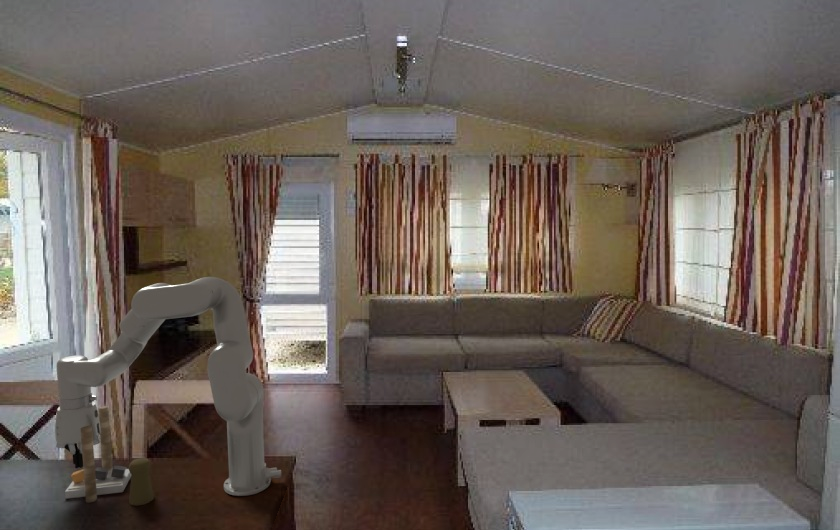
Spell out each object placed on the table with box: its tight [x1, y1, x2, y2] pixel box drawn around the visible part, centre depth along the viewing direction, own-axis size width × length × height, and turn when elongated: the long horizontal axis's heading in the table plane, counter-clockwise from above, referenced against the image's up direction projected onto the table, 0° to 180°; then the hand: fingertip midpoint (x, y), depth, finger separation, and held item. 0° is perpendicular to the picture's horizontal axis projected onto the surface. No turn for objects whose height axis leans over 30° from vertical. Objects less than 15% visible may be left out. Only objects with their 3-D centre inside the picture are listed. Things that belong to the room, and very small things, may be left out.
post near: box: [81, 426, 98, 504], centre depth 150 cm, size 3×3×20 cm
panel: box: [64, 468, 132, 499], centre depth 158 cm, size 14×10×2 cm
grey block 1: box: [95, 466, 109, 480], centre depth 158 cm, size 3×2×2 cm, turn 105°
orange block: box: [70, 469, 84, 483], centre depth 157 cm, size 3×2×2 cm, turn 103°
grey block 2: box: [111, 465, 127, 478], centre depth 159 cm, size 3×2×2 cm, turn 105°
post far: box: [97, 405, 114, 471], centre depth 165 cm, size 3×3×20 cm
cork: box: [128, 457, 155, 506], centre depth 151 cm, size 6×6×11 cm
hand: (80, 465), depth 157 cm, fingers closed
